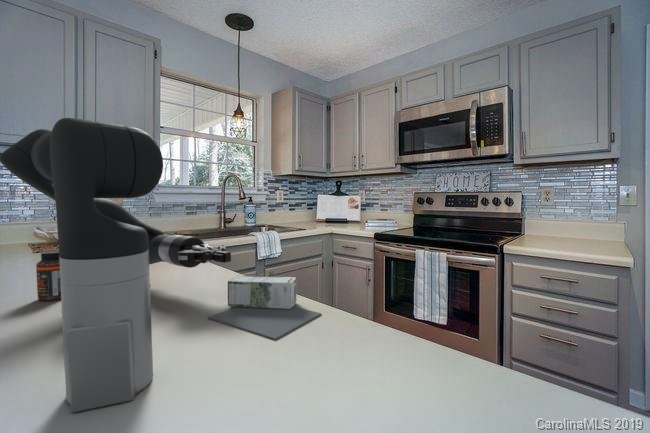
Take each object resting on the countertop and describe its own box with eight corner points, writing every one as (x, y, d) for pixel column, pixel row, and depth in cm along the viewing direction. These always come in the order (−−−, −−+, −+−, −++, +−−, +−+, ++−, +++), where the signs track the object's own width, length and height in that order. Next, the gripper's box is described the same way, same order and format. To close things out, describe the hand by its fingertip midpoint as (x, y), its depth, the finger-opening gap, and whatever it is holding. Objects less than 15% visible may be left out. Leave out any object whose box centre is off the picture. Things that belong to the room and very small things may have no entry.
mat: (207, 318, 64) (207, 316, 64) (258, 299, 75) (258, 298, 75) (275, 340, 54) (275, 338, 54) (321, 314, 66) (321, 313, 66)
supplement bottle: (31, 300, 75) (28, 253, 74) (58, 293, 81) (56, 249, 80) (49, 303, 73) (46, 254, 73) (76, 295, 79) (73, 250, 78)
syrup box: (236, 299, 75) (297, 301, 74) (226, 307, 69) (292, 309, 68) (236, 275, 75) (297, 276, 73) (226, 281, 69) (292, 282, 68)
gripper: (155, 238, 74) (201, 244, 64) (204, 233, 85) (250, 237, 75) (156, 270, 74) (202, 280, 65) (205, 261, 85) (251, 268, 76)
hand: (228, 257), depth 70 cm, fingers closed
